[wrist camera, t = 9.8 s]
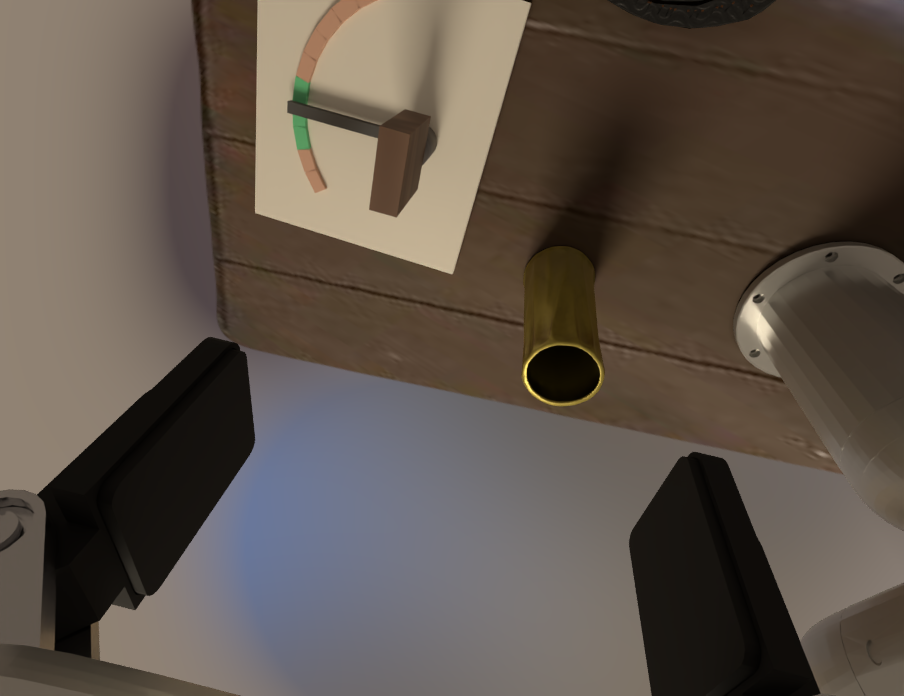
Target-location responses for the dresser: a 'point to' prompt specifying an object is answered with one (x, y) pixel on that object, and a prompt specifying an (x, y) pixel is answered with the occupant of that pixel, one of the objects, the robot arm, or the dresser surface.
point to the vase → (561, 328)
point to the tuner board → (380, 113)
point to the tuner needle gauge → (386, 151)
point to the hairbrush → (694, 11)
